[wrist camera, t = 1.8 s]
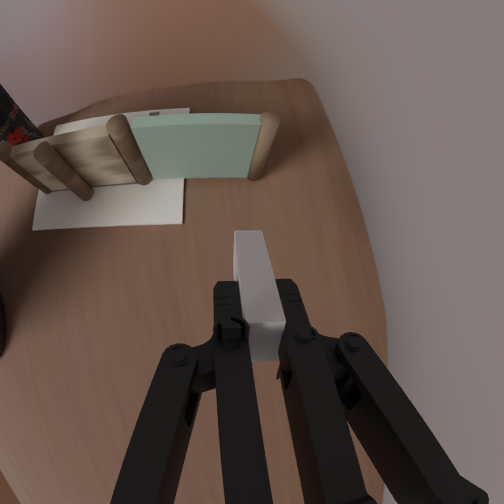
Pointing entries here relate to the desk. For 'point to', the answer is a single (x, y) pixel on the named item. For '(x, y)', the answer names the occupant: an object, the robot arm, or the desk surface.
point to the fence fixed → (80, 159)
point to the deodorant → (15, 122)
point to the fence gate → (206, 144)
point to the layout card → (112, 194)
